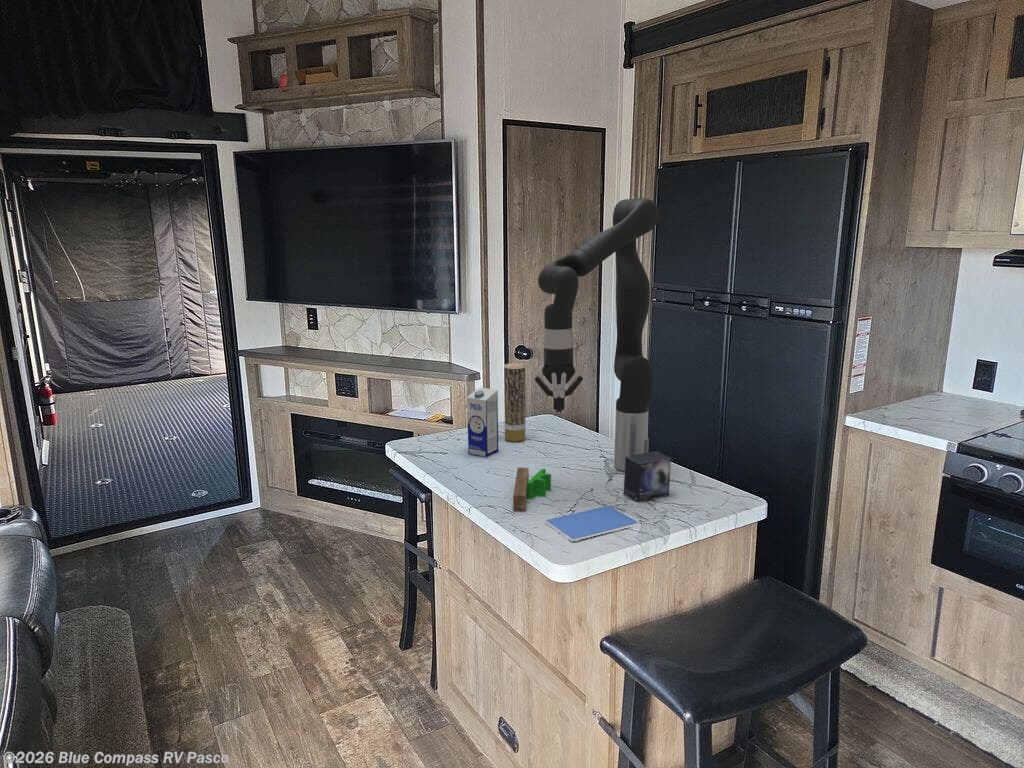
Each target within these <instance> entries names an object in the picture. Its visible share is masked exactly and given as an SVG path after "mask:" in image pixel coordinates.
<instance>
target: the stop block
mask: <svg viewBox="0 0 1024 768" xmlns="http://www.w3.org/2000/svg"><path fill="white" fill-rule="evenodd" d="M529 470H530V469H529V467H517V470H516V474H515V475H516V476H515V482H514V487H513V488H514V489H513V495H512V503H513V504H512V511H513V510H514V512H526V509H527V482H528V481H529V480H530V479H529V478H530V477H529V476H530V475H529V473H530V471H529Z"/></svg>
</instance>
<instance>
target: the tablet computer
mask: <svg viewBox="0 0 1024 768" xmlns="http://www.w3.org/2000/svg"><path fill="white" fill-rule="evenodd" d="M546 524H547V525H548V526H550V527H551V528H552V529H551V528H550V527H549V528H550V529H551V530H553V529H554V530H556V531H557V532H559V533H560V534H562V535H563V536H565V537H567V538H568V539H570V540H572V541H576V540H581V539H585V538H588V539H591V538H590V537H592V538H594V537H593V536H596V537H598V536H597V535H600V534H604V535H606V534H605V533H608V534H610V533H609V532H612V531H615V530H618V529H622V528H626V527H630V526H634V525H638V524H640V522H639V521H637V520H635V519H634V518H632V517H630V516H628V515H627V514H625V513H624V512H623V511H622V512H621V511H619V510H618V509H616V508H614V507H613V506H611V505H605V506H604V505H603V506H600V507H596V508H591V509H587V510H584V511H577V512H574V513H570V514H566V515H562V516H556V517H552V518H548V519H546V520H544V525H546ZM547 525H546V526H547ZM548 526H547V527H548ZM554 530H553V531H554ZM557 532H556V533H557ZM612 533H613V532H612ZM560 534H559V535H560ZM600 536H601V535H600ZM585 540H586V539H585ZM581 541H582V540H581Z"/></svg>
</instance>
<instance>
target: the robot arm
mask: <svg viewBox="0 0 1024 768" xmlns="http://www.w3.org/2000/svg"><path fill="white" fill-rule="evenodd" d="M613 209H614V210H613V213H612V226H611V227H609V228H607V229H605V230H602V231H601V232H598V233H595V234H594V235H593V236H590V237H589V238H588V239H586V240H584V241H583V242H581V244H579V245H578V246H576V247H575V248H574V249H573V250H571V252H570V253H567V254H566V255H563V256H561V257H559V258H557V259H555V260H554V261H551V262H550V263H548V264H546V265H545V266H544V267H543V268H542V270H540V272H539V275H538V278H537V283H538V287H539V288H540V290H541V291H542V292H544V293H545V294H549V295H554V299H553V303H550V304H548V305H546V306H545V308H544V319H543V321H544V331H543V367H542V369H541V372H540V373H539V374H536V375H535V376H534V382H536V384H537V385H538V386H539V388H540V389H542V391H543V393H544V394H545V395H546V396H547V397H552V398H553V400H552V401H553V403H552V405H553V406H552V407H553V410H554V411H556V412H555V413H561V412H563V410H565V406H566V405H565V398H566V397H568V396H572V394H573V392H574V391H575V390H577V388H578V387H579V385H581V383H582V382H583V380H584V377H583V375H582V374H579V373H578V372H576V368H575V366H574V333H573V310H574V306H575V303H576V298H577V293H578V290H579V278H581V277H584V276H586V275H588V274H590V273H591V272H592V271H593V270H595V269H596V268H597V267H598V266H599V265H600V264H601V263H603V262H604V261H605V260H607V259H608V258H609V257H610V256H612V255H613V254H615V275H616V276H615V310H616V311H615V321H616V344H615V353H614V363H613V372H614V375H615V377H616V378H617V379H618V381H620V385H619V386H620V387H619V397H618V398H617V399H616V401H615V424H614V425H615V427H614V429H615V430H614V457H613V461H614V463H613V466H614V468H615V469H617V470H618V471H622V472H625V457H626V456H631V455H637V454H642V453H648V452H649V436H648V434H649V433H648V432H649V429H648V428H649V409H650V403H651V401H652V396H653V395H652V394H653V386H654V385H653V382H654V370H653V365H652V363H651V362H650V361H649V360H648V359H647V358H646V357H644V355H643V343H642V342H643V331H644V327H645V324H646V321H647V317H648V315H649V314H648V313H649V311H650V310H649V309H650V302H651V301H650V298H651V297H650V294H651V292H650V289H651V287H650V286H651V284H650V279H649V277H648V274H647V272H646V270H645V267H643V264H642V262H641V260H640V258H639V254H638V248H637V239H639V238H641V237H642V236H645V235H646V234H648V233H649V232H651V231H653V229H654V228H655V227H656V225H657V223H658V221H659V216H660V213H659V207H658V205H657V204H656V202H655V201H653V199H649V198H646V197H645V198H644V197H642V198H641V197H639V198H627V199H625V198H624V199H621V200H619V201H618V202H617V203H616V204H615V206H614V208H613ZM545 379H546V380H547V382H548V383H549V384H551V385H552V386H551V387H552V390H551V389H550V388H549V387H548V385H547V384H546V383H545ZM571 379H572V383H571V384H570V385H569V387H568V388H567V389H566V385H567V384H568V383H569V382H570V381H571ZM558 385H559V393H558Z"/></svg>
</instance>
